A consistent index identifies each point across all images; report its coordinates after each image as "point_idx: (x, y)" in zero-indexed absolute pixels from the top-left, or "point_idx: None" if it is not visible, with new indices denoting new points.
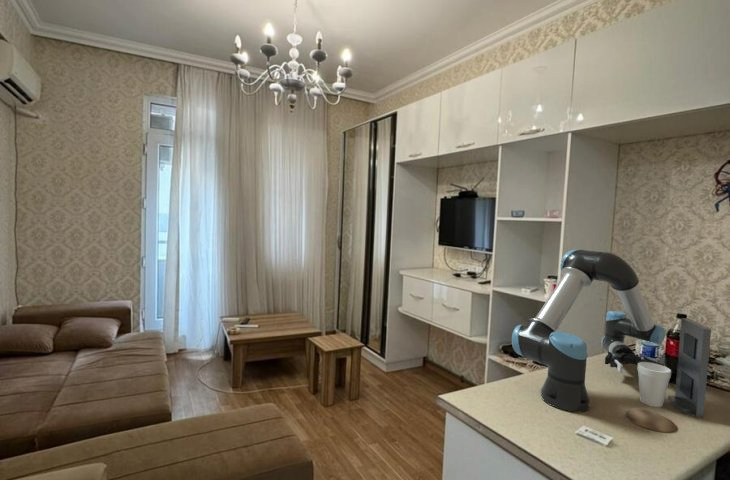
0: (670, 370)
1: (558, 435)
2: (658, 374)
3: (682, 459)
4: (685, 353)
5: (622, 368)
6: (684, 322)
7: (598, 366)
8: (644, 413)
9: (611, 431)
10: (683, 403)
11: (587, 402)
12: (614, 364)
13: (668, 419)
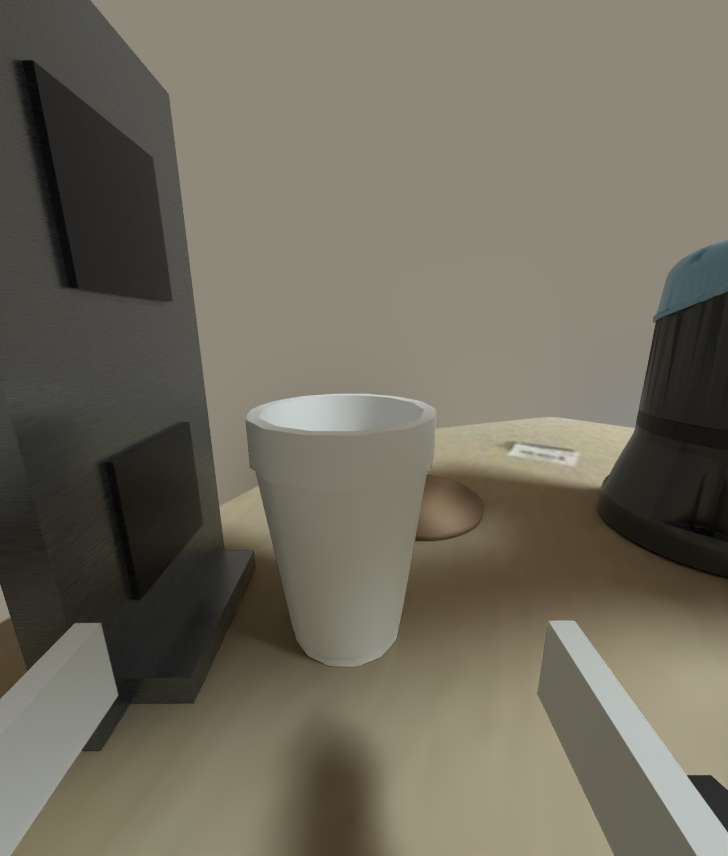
0: (266, 404)
1: (599, 444)
2: (353, 408)
3: None
4: (109, 289)
5: (544, 647)
6: None
7: None
8: (422, 516)
9: (512, 463)
10: (193, 594)
11: (603, 482)
12: (705, 784)
13: None
